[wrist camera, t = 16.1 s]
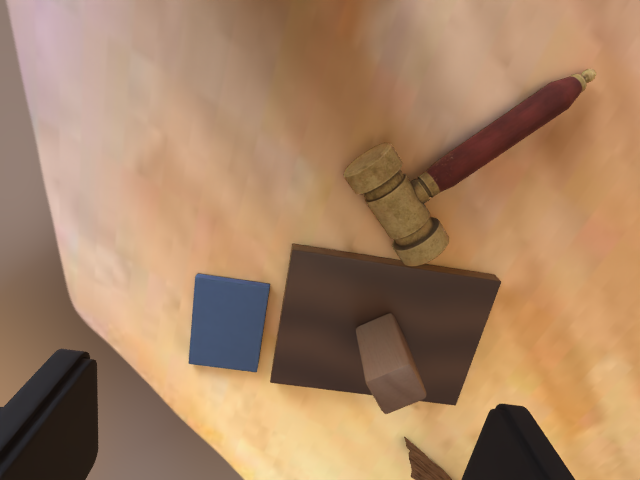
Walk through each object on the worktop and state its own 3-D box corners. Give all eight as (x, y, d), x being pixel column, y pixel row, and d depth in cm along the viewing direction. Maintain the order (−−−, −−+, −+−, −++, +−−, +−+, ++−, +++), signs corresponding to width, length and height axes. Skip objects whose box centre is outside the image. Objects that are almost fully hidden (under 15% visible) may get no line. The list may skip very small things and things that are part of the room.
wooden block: (370, 356, 41) (384, 417, 34) (353, 326, 40) (364, 382, 33) (407, 341, 41) (429, 399, 33) (391, 310, 40) (410, 363, 32)
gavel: (590, 7, 29) (637, 126, 32) (551, 19, 33) (595, 123, 36) (346, 179, 32) (411, 274, 35) (339, 169, 36) (397, 255, 39)
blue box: (197, 273, 39) (195, 276, 38) (270, 283, 40) (269, 287, 39) (190, 359, 43) (188, 364, 42) (257, 367, 43) (256, 372, 43)
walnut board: (292, 243, 38) (291, 249, 37) (495, 274, 40) (501, 281, 39) (271, 373, 44) (270, 382, 42) (451, 395, 45) (455, 405, 44)
